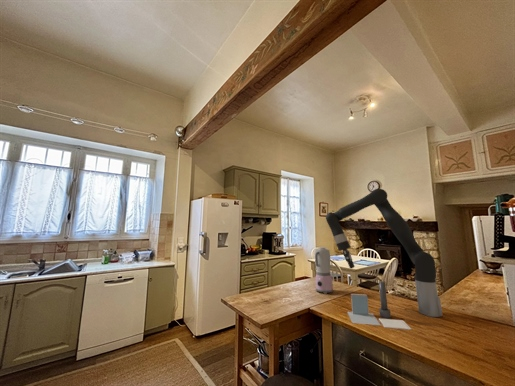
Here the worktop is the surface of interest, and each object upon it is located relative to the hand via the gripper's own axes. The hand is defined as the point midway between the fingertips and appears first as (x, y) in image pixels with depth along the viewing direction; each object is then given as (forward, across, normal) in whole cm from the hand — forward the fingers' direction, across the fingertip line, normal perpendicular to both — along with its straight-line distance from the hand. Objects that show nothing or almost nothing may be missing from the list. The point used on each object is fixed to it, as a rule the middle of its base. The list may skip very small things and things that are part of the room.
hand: (352, 267), depth 128 cm
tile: (+23, -8, +5) cm, 25 cm away
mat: (+24, -13, +4) cm, 28 cm away
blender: (+12, +24, +28) cm, 38 cm away
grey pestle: (+27, -6, -6) cm, 28 cm away
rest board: (+29, -14, -9) cm, 34 cm away
